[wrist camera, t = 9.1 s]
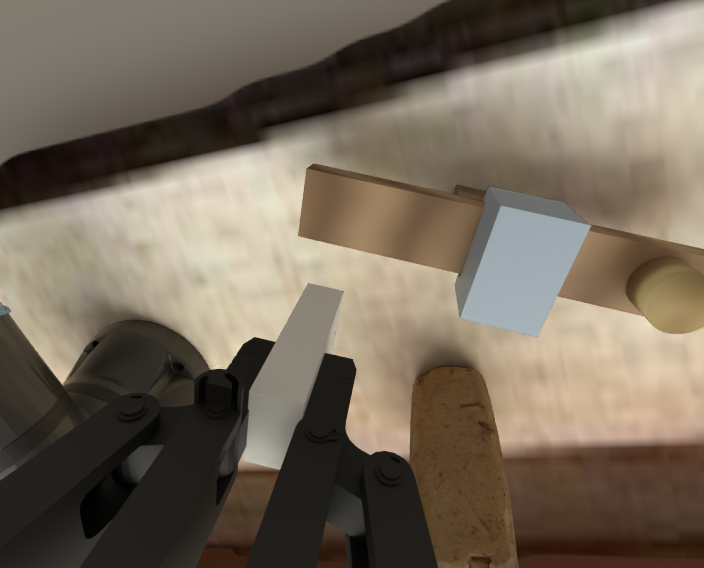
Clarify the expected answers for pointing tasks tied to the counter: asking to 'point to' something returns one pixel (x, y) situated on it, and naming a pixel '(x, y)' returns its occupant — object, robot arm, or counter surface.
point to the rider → (518, 260)
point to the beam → (459, 230)
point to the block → (461, 470)
